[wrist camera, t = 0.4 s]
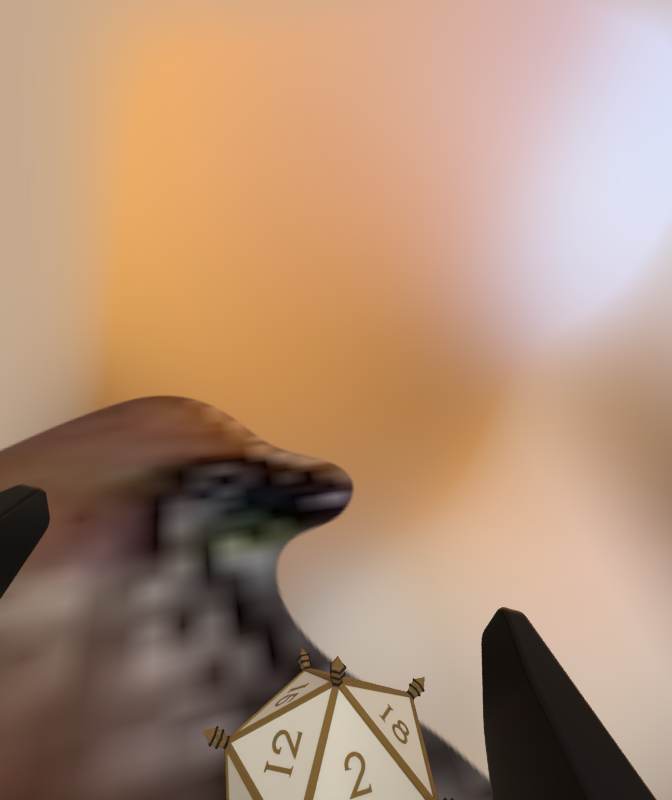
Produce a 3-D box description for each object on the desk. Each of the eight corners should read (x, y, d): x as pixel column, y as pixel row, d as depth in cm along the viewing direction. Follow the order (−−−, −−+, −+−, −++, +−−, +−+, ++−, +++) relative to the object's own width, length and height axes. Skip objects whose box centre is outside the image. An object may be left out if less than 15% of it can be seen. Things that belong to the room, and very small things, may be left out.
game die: (338, 809, 20) (558, 851, 15) (183, 1039, 13) (486, 1277, 8) (278, 617, 22) (456, 590, 16) (109, 734, 15) (321, 756, 9)
